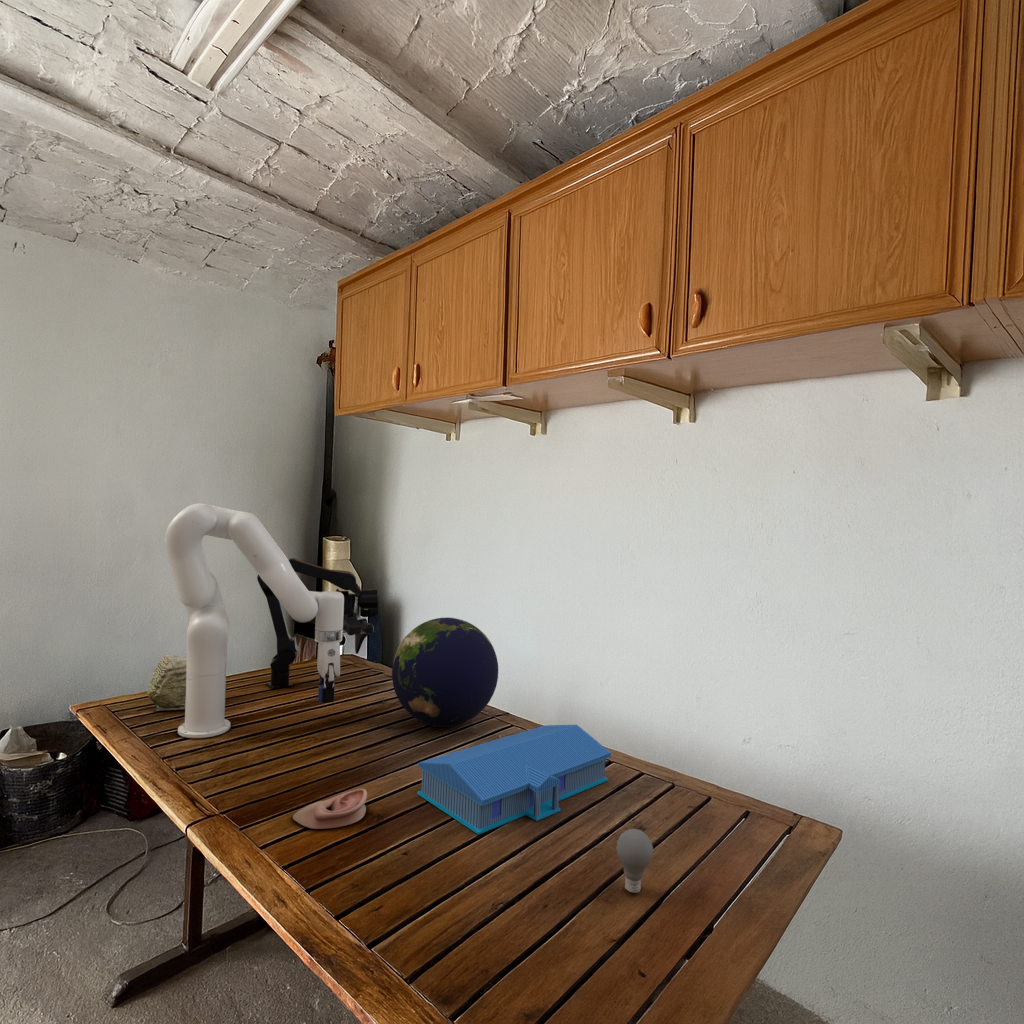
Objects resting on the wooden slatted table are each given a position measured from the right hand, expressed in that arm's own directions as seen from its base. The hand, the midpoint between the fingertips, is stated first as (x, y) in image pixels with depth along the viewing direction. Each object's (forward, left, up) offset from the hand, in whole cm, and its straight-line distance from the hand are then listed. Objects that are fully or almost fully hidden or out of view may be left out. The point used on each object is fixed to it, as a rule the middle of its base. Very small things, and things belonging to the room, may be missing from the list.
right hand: (344, 655), depth 214 cm
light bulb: (+133, -12, -10) cm, 134 cm away
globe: (+51, +6, -10) cm, 52 cm away
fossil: (-3, -48, -10) cm, 50 cm away
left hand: (+29, -19, -4) cm, 35 cm away
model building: (+94, -3, -10) cm, 95 cm away
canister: (+29, -19, -4) cm, 35 cm away
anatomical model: (+81, -42, -10) cm, 91 cm away
